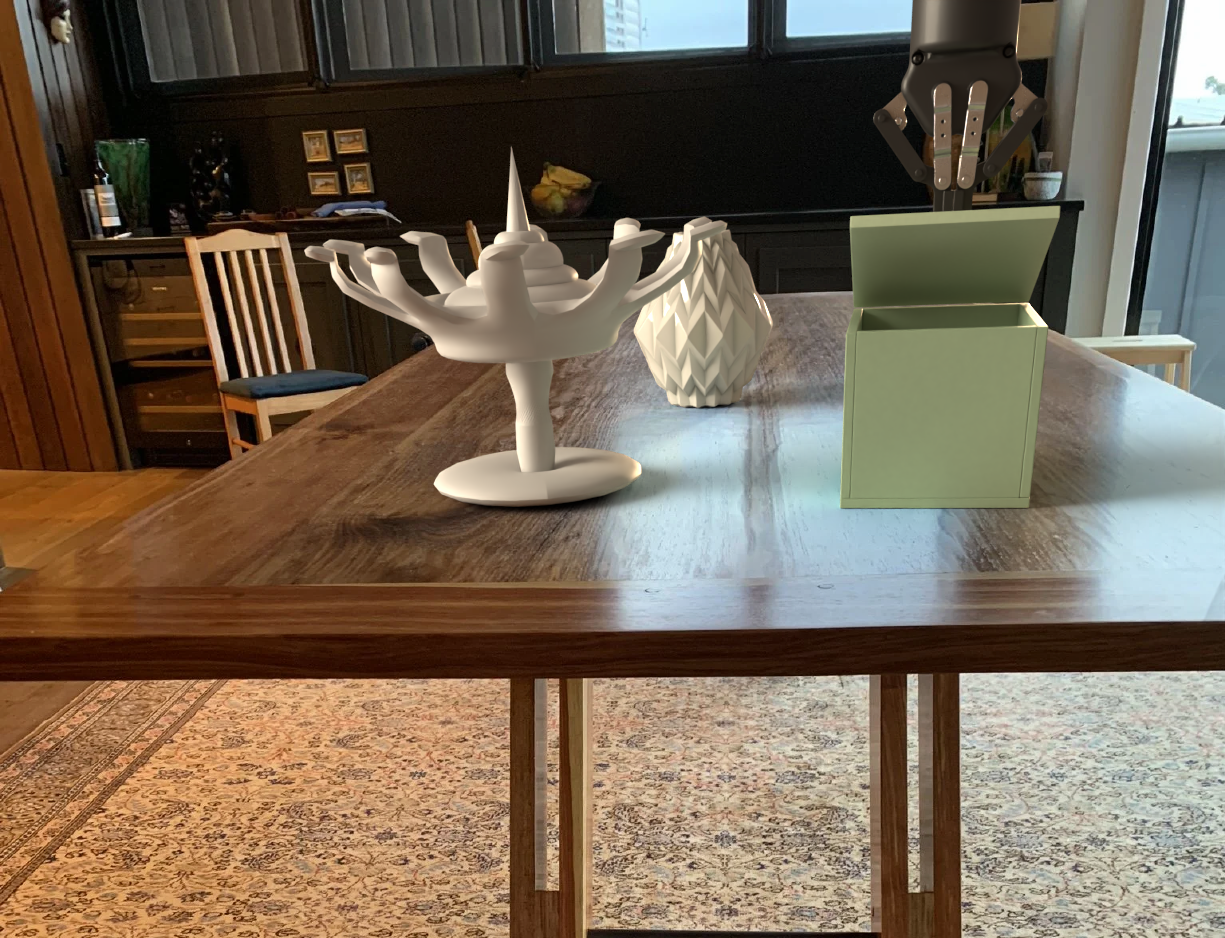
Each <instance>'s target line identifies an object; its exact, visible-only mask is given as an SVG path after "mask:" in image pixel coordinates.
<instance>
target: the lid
mask: <svg viewBox="0 0 1225 938" xmlns="http://www.w3.org/2000/svg"><path fill="white" fill-rule="evenodd" d="M1060 216H1061V206H1060V205H1049V206H1030V207H1029V206H1027V207H1010V208H1009V207H1007V208H989V209H988V208H986V209H972V210H966V211H946V212H933V211H929V212H927V211H926V212H911V213H910V212H909V213H907V212H906V213H889V214H888V213H887V214H869V215H852V216H850V218H849V219H850V220H849V233H850V234H849V235H850V239H849V240H850V255H851V256H850V258H851V275H852V277H851V281H852V300H853V308H854V309H857V308H886V307H915V306H944V305H972V304H1001V303H1029V302H1030V300H1031V297H1032V294H1033V291H1034V288H1035V286H1036V283H1037V280H1038V278H1039V275H1040V272H1041V269H1042V267H1043V264H1044V261H1045V258H1046V255H1047V253H1048V250H1049V248H1050V245H1051V243H1052V239H1053V237H1054V233H1055V232H1056V228H1057V225H1058V224H1059V223H1058V222H1059V220H1060Z"/></svg>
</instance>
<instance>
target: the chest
mask: <svg viewBox="0 0 1225 938" xmlns="http://www.w3.org/2000/svg"><path fill="white" fill-rule="evenodd" d="M847 326H848V327H847V330H846V332H845V349H844V350H845V352H844V355H845V356H844V379H843V406H842V407H843V408H842V410H843V411H842V437H841V438H842V439H841V462H840V463H841V464H840V467H841V468H840V494H839V508H840V509H1029V508H1030V501H1031V491H1032V484H1033V483H1032V482H1033V473H1034V465H1035V464H1034V463H1035V457H1036V455H1035V454H1036V446H1037V437H1038V427H1039V420H1040V419H1039V418H1040V411H1041V410H1040V409H1041V400H1042V390H1043V380H1044V373H1045V363H1046V353H1047V345H1048V336H1049V326H1048V325H1047V324H1046V322H1045V321H1044V320H1043V319H1042V317H1041V316H1040V315H1039V314H1038V313H1037V311H1036V310H1035V309H1034V308H1033V307H1032V306H1031V304H1030V303H1029V302H1005V303H976V304H947V305H918V306H889V307H863V308H854V309H853V311H852V313H851V316H850V320H849V323H848V325H847Z"/></svg>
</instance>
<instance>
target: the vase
mask: <svg viewBox="0 0 1225 938" xmlns="http://www.w3.org/2000/svg"><path fill="white" fill-rule="evenodd" d="M683 238H684V231H679V232H674V233H673V234H672V242H671V245H669V246H668V247H667V249H666V253H665V257H664V259H663V260H662V262H661V263H660V265H659V266H658V268H657V269H656V271H655V272H657V271H658V270H659V269H660V268H661V267H663V266H664V265H665V264H666V263H667V262H668V261H669V260H671V259H672V258H673V257H674V256H675V255H676V254H677V252H678V250H679V248H680V246H681V243H682V241H683ZM773 326H774V320H773V318H772V316H771V314H770V311H769V308H768V306H767V304H766V302H765V300H764V299H763V298H762V296H761V295H760V294H759V292H758V291H757V289H756V286H755V283H754V279H753V276H752V272H751V269H750V266H749V264H748V263H747V261H746V260H745V259H744V257H742V255H741V254H740V251H739V248H738V245H737V243H736V242H735V241H733V239H732V233H731V230H730V229H726V230H724V231H722V232H720V233H718V234H717V235H715V236H712V237H709V238H706V239H703V240H702V255H701V257H700V259H699V261H698V263H697V266H696V268H695V270H694V271H693V272H691V273H690V274H689V275H688V276H686V277H685V278H684V279H683V280H681V281H680V282H679V283H678V284H676V285H675V286H674V287H673V288H671V289H670V290H669V291H667V292H666V293H664V294H662V295H661V296H659V297H658V298H656V299H654V300H653V301H651V302H650V303H648V304H646V305H645V306H643V307H642V308H641V311H640V313H639V315H638V318H637V320H636V323H635V325H634V327H633V334H634V337H635V338H636V340H637V343H638V345H639V348H640V349H641V351H642V353H643V356H644V357H645V360H646V362H647V365H648V368H649V371H650V372H651V374H652V376H653V378H654V380H655V383H656V385H657V386H658V387H660V388H661V389H663V390H664V391H665V392H666V396H667V401H668V402H669V404H670V405H672V406H676V407H677V406H680V407H681V408H690V407H694V408H696V409H701V408H704V407H708V408H715V407H717V406H729V405H731V404H735V403H738V402H740V401H741V398H742V395H743V389H744V387H745V386H746V385H747V384H749V383H750V382H751V381H752V379H753V377H754V375H755V372H756V370H757V367H758V365H759V362H760V359H761V356H762V353H763V352H764V350H765V349H766V346H767V343H768V340H769V337H770V334H771V332H772V329H773Z"/></svg>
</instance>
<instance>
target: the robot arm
mask: <svg viewBox="0 0 1225 938" xmlns="http://www.w3.org/2000/svg"><path fill="white" fill-rule="evenodd" d="M911 4H912V5H911V6H912V7H911V22H910V23H911V24H910V25H911V26H910V41H909V42H910V44H909V46H910V47H909V60H908V62H909V63H908V68H907V69H906V72H905V74H904V76H903V78H902V81H901V84H900V92H899V93H898V94H897V95H896V96H895V97H894V98H893V99H892V100H890V101H889V102H888V103H887V104H886V105H885V106H884V107H883V108H880V109H878V110H876V111H875V113H874V115H873V119H872V120H873V123H874V125H875V127H876V128H877V130H878V131H879V133H880V134H881V136H882V138H884V140H885V141H886V143H887V144H888V145H889V147H890V148H891V150H892V152H893V153H894V154H895V156H896V157H897V159H898V160H899V162H900V163H901V165H902V166H903V167H904V169H905V170H906V172H907V174H908V175H909V177H910V178H911V180H912V181H914V182H916V183H921V184H924V185H927V186H929V187H930V188H931V189H932V191H933V202H932V203H933V204H932V205H933V206H932V212H946V211H966V210H973V199H974V198H973V197H974V190H975V188H976V187H977V186H978V185H979V184H980V183H982V182H984V181H987V180H989V179H991V178H994V177H996V176H997V175H998V174H999V173H1000V172H1001V171H1002V169H1003V168H1004V166H1005V165H1006V164H1007V163H1008V161H1009V160H1010V159H1011V157H1012V156H1013V155H1014V153H1016V151H1017V150H1018V148H1019V147H1020V146H1021V145H1022V143H1023V142H1024V140H1025V139H1026V138H1027V136H1028V135H1029V134H1030V133H1031V131H1032V130H1033V129H1034V128H1035V126H1036V125H1037V124H1038V123H1039V121H1040V120H1041V119H1042V117H1043V116H1044V115H1045V114H1046V112H1047V110H1048V108H1049V107H1048V101H1047V100H1046V98H1043V97H1038V96H1037V95H1036V94H1034V93H1033V92H1032V91H1031V90H1030V89H1029V88H1028V87H1026V86H1025V85H1024V84H1023V83H1022V79H1023V75H1022V73H1023V72H1022V69H1021V67H1020V65H1019V61H1018V55H1017V54H1018V52H1017V51H1018V40H1019V39H1018V38H1019V29H1020V28H1019V27H1020V18H1021V17H1020V16H1021V7H1022V6H1021V4H1022V0H912V3H911ZM1011 99H1012V100H1013V106H1012V108H1011V110H1010V113H1009V118H1010V120H1011V122H1012V123H1013V124H1012V125H1011V127H1009V129H1008V131H1007V132H1006V133H1005V135H1004V136H1003V137H1002V139H1001V140H1000V141H999V142H998V144H997V145H996V146H995V148H993V150H992V151H991V153H990V154H989V155H988V156H987V158H986V159H985V160H984V161H982V162H980V163H978V158H979V157H978V156H979V150H980V145H981V138H982V134H984V133H986V132H987V131H989V130H990V128H991V127H992V126H993V125H994V123H995V122H996V121H997V119H998V118H999V116H1000V115H1001V113H1002V112H1003V111H1004V109H1006V106H1007V105H1008V104H1009V102H1010V101H1011ZM907 106H908V108H909V109H910V111H911V113H912V114H913V116H914V117H915V119H916V120H917V122H918V124H919V125H920V127H921V128H922V130H923V131H924V133H925V134H926V135H928V136H929V137H931V138H933V166H931V165H928V164H926V163H924V162H923V161H922V159H921V157H920V156H919V155H918V152H917V151H916V150H915V148H914V147H913V145H911V143H910V141H909V140H908V138H907V137H906V135H905V134H904V132H903V130H904V129H905V128H906V126H907V123H908V120H907V119H908V118H907V116H906V113H905V112H906V111H905V109H906V107H907ZM955 135H958V136H961V144H960V151H959V160H958V165H957V175H956V187H955V189H952V182H953V181H952V179H953V177H952V136H955ZM977 163H978V164H977Z"/></svg>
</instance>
